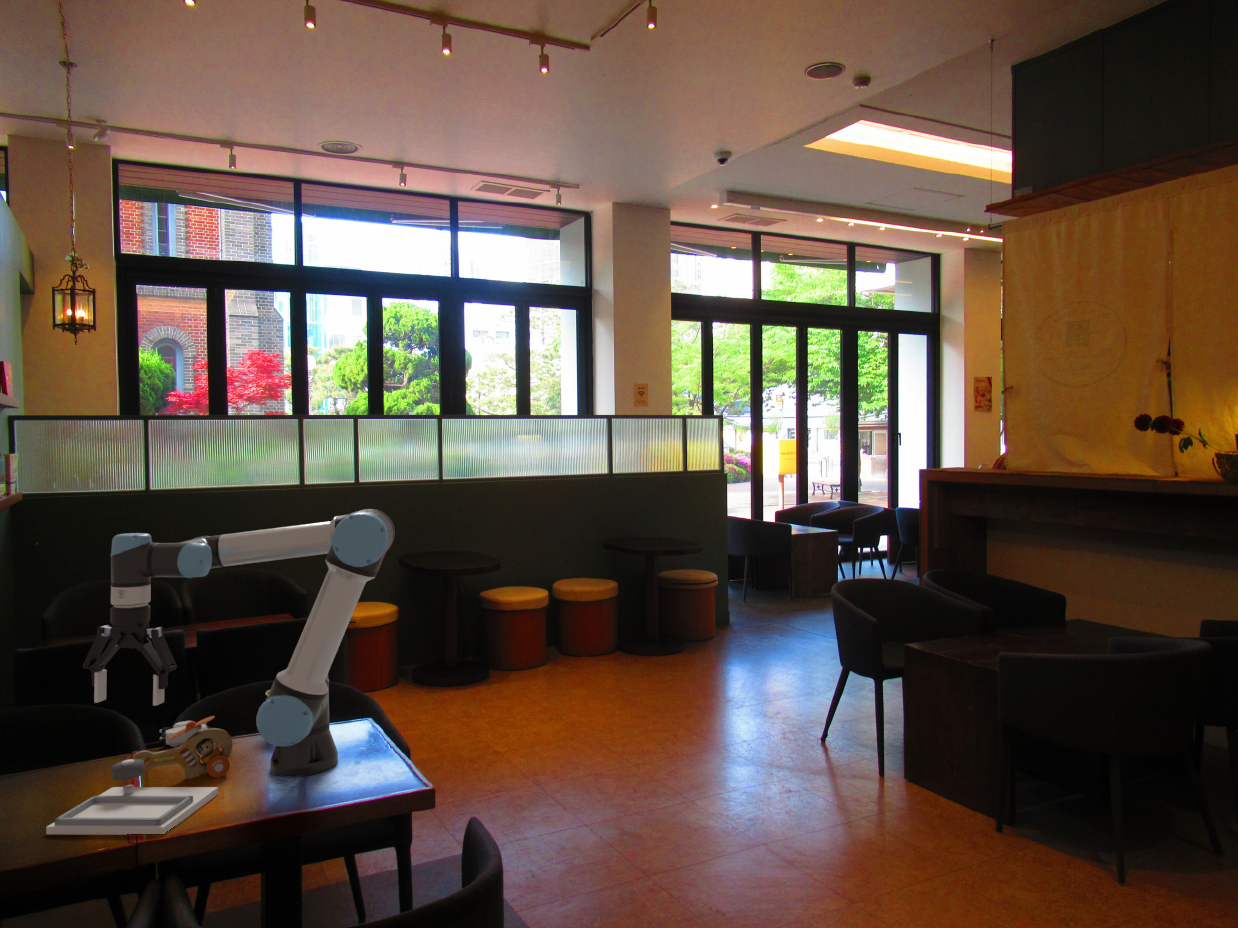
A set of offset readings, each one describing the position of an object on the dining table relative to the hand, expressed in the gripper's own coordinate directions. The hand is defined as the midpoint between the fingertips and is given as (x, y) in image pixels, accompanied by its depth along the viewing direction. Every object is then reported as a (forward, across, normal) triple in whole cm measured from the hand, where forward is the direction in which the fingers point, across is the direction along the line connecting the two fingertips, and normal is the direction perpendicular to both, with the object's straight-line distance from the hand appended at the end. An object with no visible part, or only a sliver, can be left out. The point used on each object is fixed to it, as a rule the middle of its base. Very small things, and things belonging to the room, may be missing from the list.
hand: (129, 702), depth 183 cm
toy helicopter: (+21, +6, +12) cm, 25 cm away
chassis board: (+21, +7, -7) cm, 23 cm away
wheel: (+16, 0, 0) cm, 16 cm away
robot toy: (+22, -11, +38) cm, 45 cm away
